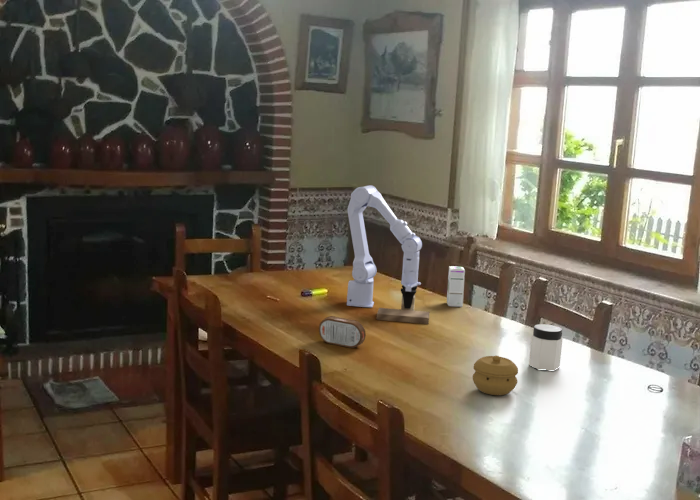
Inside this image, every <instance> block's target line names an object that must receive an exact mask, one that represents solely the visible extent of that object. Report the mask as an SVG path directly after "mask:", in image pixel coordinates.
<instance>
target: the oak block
mask: <svg viewBox="0 0 700 500" xmlns="http://www.w3.org/2000/svg"><path fill="white" fill-rule="evenodd" d="M401 295H402V294H401ZM415 300H416V294H415V295H414V297H413V300H412V305H411V308H410V309H406V308H404V300H403V295H402V296H401V307H400V310H412V311H415Z"/></svg>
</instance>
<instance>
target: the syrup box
mask: <svg viewBox="0 0 700 500" xmlns="http://www.w3.org/2000/svg"><path fill="white" fill-rule="evenodd" d="M465 274H466V270H465V268H464V267H463V266H459V265H458V266H457V265H455V266H454V265H451V266H450V265H449V266H448V276H447V294H446V304H447V306H448V307H457V308H459V307H460V308H463V305H464V292H465V291H464V290H465Z"/></svg>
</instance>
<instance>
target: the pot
mask: <svg viewBox="0 0 700 500" xmlns="http://www.w3.org/2000/svg"><path fill="white" fill-rule="evenodd" d="M473 369H474V373H472V381H473V383H474V385H475V387H476V388H477V390H479V391H480V392H482V393H484V394H486V395H491V396H504V395H508V394H510V393H511V392H512V391H513V390H514V389H515V388H516V386H517V385H518V379H517V375H518V374H519V369H518V366H517V364H515V362H514V361H512V360H511V359H509V358H507V357H502V356H499V355H487V356H482V357H480V358H478V359H477V360H476V361H475V362H474V364H473Z"/></svg>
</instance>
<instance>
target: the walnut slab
mask: <svg viewBox="0 0 700 500" xmlns="http://www.w3.org/2000/svg"><path fill="white" fill-rule="evenodd" d="M376 320H377V321H389V322H399V323H400V322H401V323H413V324H424V325H429V321H430V311H422V310H414V311H412V310H401V308H400V309H399V308H387V307H379V308H378V309H377V312H376Z"/></svg>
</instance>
